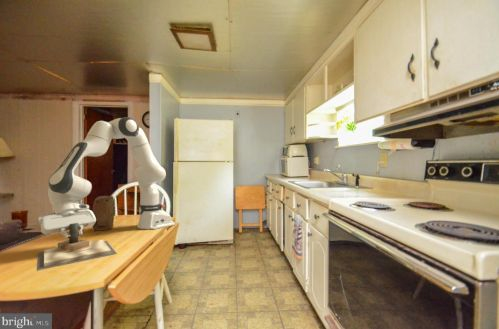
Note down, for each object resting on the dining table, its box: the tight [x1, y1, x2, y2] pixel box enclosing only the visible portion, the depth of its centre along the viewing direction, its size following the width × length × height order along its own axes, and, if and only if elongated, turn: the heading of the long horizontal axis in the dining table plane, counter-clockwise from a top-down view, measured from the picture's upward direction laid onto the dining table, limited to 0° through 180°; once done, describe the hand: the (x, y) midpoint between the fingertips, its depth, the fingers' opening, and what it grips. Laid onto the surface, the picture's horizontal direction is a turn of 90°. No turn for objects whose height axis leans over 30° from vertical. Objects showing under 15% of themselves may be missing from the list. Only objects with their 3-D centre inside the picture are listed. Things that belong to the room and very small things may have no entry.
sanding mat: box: [36, 240, 118, 271], centre depth 104 cm, size 26×23×1 cm
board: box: [43, 239, 111, 267], centre depth 104 cm, size 22×19×2 cm
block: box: [92, 195, 115, 231], centre depth 145 cm, size 11×8×20 cm
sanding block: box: [57, 223, 90, 252], centre depth 106 cm, size 10×7×10 cm
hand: (74, 236), depth 106 cm, fingers closed on sanding block, 3 cm apart
